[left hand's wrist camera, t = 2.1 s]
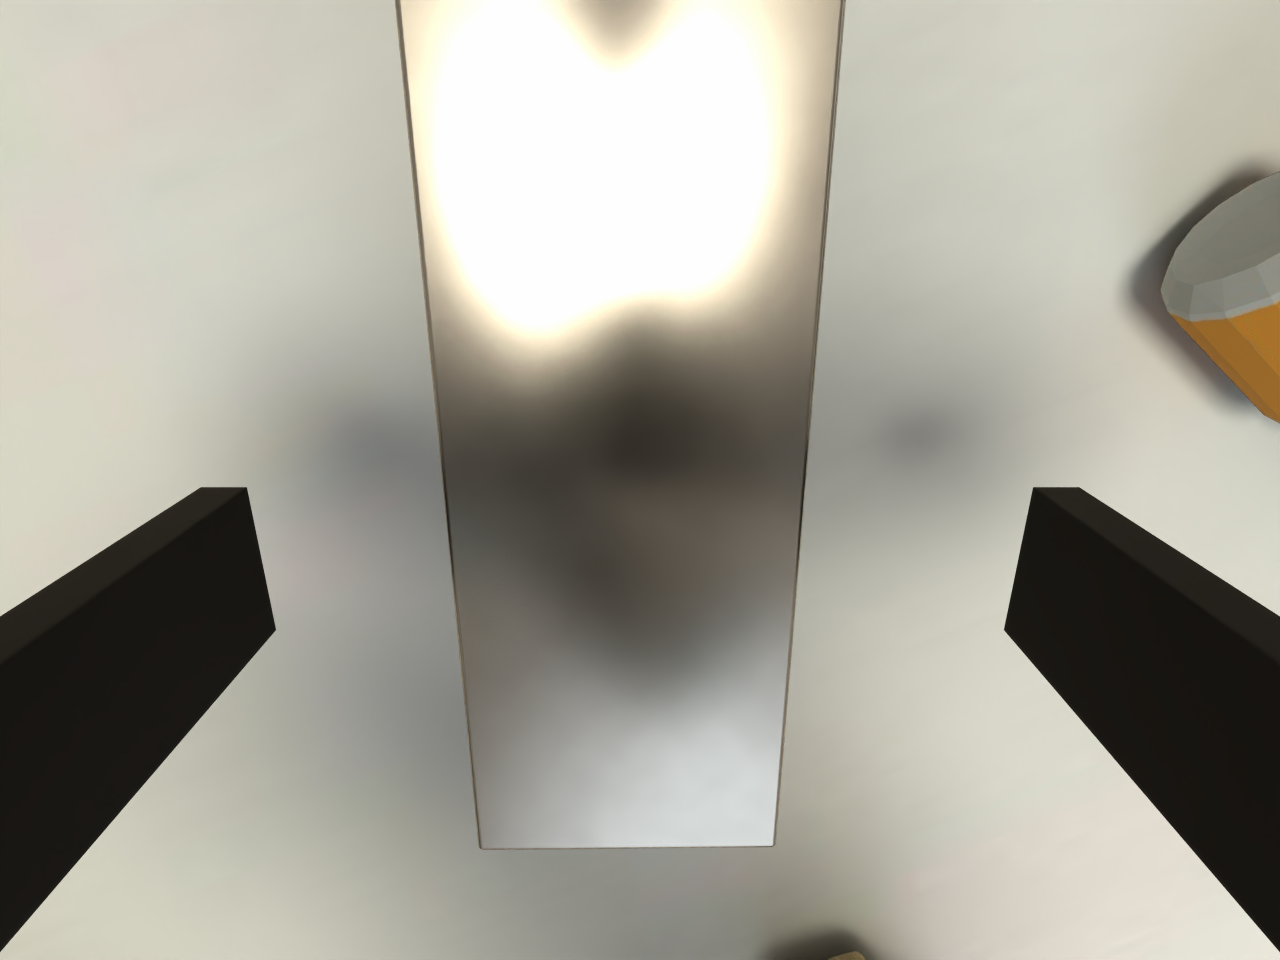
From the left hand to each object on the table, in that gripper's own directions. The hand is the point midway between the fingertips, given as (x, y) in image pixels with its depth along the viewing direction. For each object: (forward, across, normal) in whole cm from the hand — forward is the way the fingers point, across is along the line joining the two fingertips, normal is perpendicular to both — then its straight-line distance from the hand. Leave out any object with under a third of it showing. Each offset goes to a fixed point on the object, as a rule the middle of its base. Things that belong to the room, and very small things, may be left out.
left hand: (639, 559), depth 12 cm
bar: (+8, 0, -13) cm, 15 cm away
